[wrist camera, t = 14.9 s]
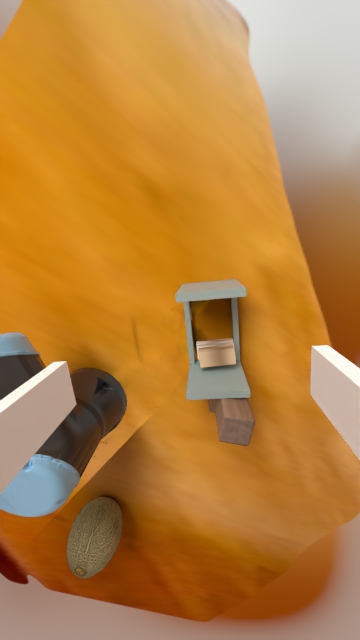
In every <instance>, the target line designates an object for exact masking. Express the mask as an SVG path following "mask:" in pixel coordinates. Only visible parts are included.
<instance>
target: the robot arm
mask: <svg viewBox="0 0 360 640" xmlns="http://www.w3.org/2000/svg"><path fill="white" fill-rule="evenodd" d="M39 355H40V354H39V352H37V351H36V350H35V349H34V347H33V346H32V344H31V342H30V341H29V339H28V338H27V337H26V336H25V335H24V334H22V333H18V332H11V333H5V334H0V509H2V510H4V511H6V512H8V513H11V514H16V515H19V516H25V517H38V516H44V515H47V514H50V513H52V512H54V511H56V510H57V509H59V508H60V507H61V506H62V505H63V504H64V503H65V501H66V500H67V498H68V497H69V495H70V494H71V492H72V491H73V489H74V488H75V487H76V486H77V485H78V483H79V481H80V478H81V476H82V474H83V472H84V470H85V468H86V466H87V465H88V463H89V461H90V459H91V457H92V455H93V453H94V452H95V450H96V448H97V446H98V444H99V442H100V441H101V439H102V438H103V437H105V436H106V435H107V434H108V433H109V432H111V431H112V430H113V429H115V428H116V427H117V425H118V424H119V423H120V421H121V419H122V417H123V415H124V413H125V411H126V406H127V400H126V395H125V392H124V390H123V388H122V386H121V385H120V383H119V382H118V381H117V380H116V379H115V378H114V377H113V376H111V375H110V374H108V373H107V372H105V371H102V370H99V369H95V368H82V369H78V370H75V371H73V372H72V373H70V374H69V369H68V365H67V361H62V362H53V363H52V364H50V365H49V366H48V367H46V366H45V365H44V363H43V361H42V359H41V358H40V356H39ZM310 395H311V396H312V398H313V399H314V400H315V402H316V403H317V404H318V406H319V407H320V408H321V410H322V411H323V412H324V414H325V415H326V416H327V418H328V419H329V420H330V422H331V423H332V424H333V426H334V427H335V428H336V430H337V431H338V432H339V434H340V435H341V436H342V437H343V439H344V440H345V441H346V443H347V444H348V445H349V447H350V448H351V449H352V451H353V452H354V453H355V455H356V456H357V457H358V459H359V460H360V369H359V368H358V367H357V366H355V365H354V364H353V363H351V362H350V361H349V360H347V359H346V358H344V357H343V356H342V355H340V354H339V353H338V352H336V351H335V350H334V349H332V348H331V347H330V346H328V345H322V346H312V352H311V391H310Z"/></svg>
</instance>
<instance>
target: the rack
mask: <svg viewBox="0 0 360 640" xmlns="http://www.w3.org/2000/svg"><path fill="white" fill-rule="evenodd" d="M175 295H176V302H184V312H185V322H186V332H187V342H188V351H189V361H190V367H189V374H188V382H187V390H186V397H187V400H199V399H224V398H249V397H250V389H249V386H248V383H247V380H246V377H245V374H244V371H243V368H242V365H241V362H240V346H239V325H238V304H237V297H245V296H246V287H244V286H243V285H242V284H241V283H239V282H238V281H237V280H236V279H230V280H220V281H209V282H198V283H187V284H182V286H181V287H180V288H179V290H178V291H177V293H176V294H175ZM222 298H231V313H232V331H233V342H234V348H235V355H236V364H231V365H222V366H213V367H204V368H200V361H199V360H195V354H194V343H193V333H192V322H191V312H190V301H198V300H210V299H222Z"/></svg>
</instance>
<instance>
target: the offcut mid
mask: <svg viewBox="0 0 360 640" xmlns="http://www.w3.org/2000/svg"><path fill="white" fill-rule="evenodd" d="M229 344H233V346H234V343H233V340H228V341H221V342H215V343H208V344H202V345H198V348H204V347H212V346H220V345H229ZM198 348H197V350H198ZM234 350H235V348H234ZM235 359H236V355H235Z"/></svg>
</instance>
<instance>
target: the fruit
mask: <svg viewBox="0 0 360 640" xmlns="http://www.w3.org/2000/svg"><path fill="white" fill-rule="evenodd" d="M122 528H123V517H122V512H121V509H120V507H119V505H118V504H117V502H116V501H114V500H113V499H111V498H109V497H97V498H94V499H93V500H91V501H89V502H88V503H87V504H86V505H85V506H84V507H83V508H82V509H81V511H80V513H79V514H78V516H77V518H76V519H75V521H74V524H73V526H72V528H71V531H70V535H69V539H68V544H67V558H68V564H69V567H70V569H71V571H72V572H73V573H74V574H75V575H76V576H78V577H80V578H89V577H91V576H94V575H95V574H97V573H98V572H100V571H101V570H102V569H103V568H104V567H105V566H106V565H107V564H108V562H109V561H110V560H111V558H112V556H113V555H114V553H115V551H116V549H117V547H118V544H119V541H120V538H121V534H122Z"/></svg>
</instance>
